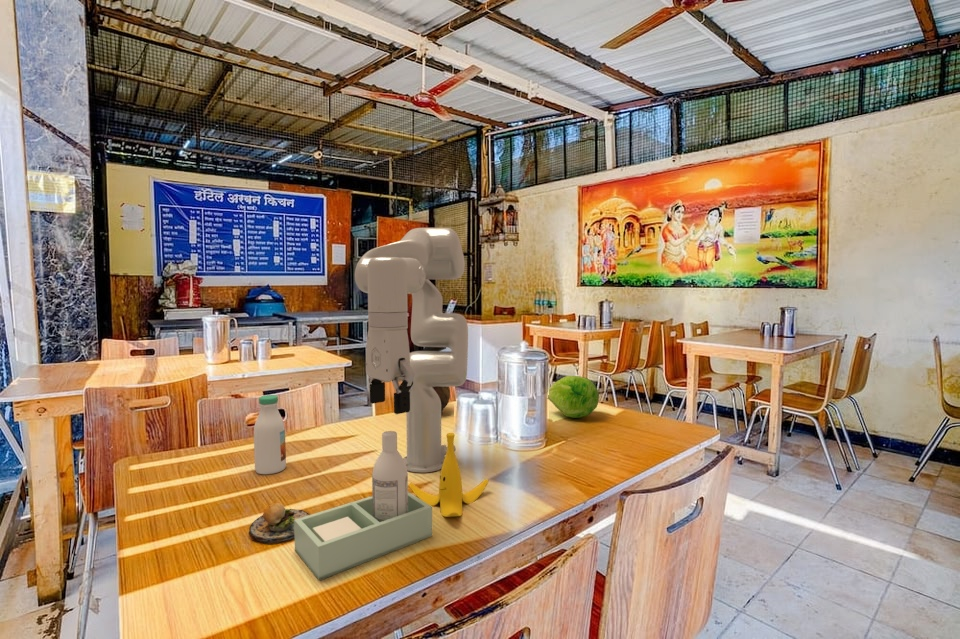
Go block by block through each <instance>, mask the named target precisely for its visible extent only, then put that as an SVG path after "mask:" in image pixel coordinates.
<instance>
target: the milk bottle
mask: <svg viewBox="0 0 960 639" xmlns="http://www.w3.org/2000/svg"><path fill="white" fill-rule="evenodd" d="M258 403H259V411H258V415H257V417H256V419H255V423H254V427H253V452H254V453H253V454H254V469H255V472H256V474H260V475H272V474H277V473H280V472H282V471H284V470H285V469H286V467H287V455H286V454H287V450H286V449H287V448H286V447H287V446H286V429H285V428H286V427H285V426H286V425H285V422H284V419H283V417H282V415H281V413H280V411H279V409H278V404H279V398H278V395H275V394H267V395H261V396H259V398H258Z"/></svg>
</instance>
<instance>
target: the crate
mask: <svg viewBox="0 0 960 639" xmlns="http://www.w3.org/2000/svg"><path fill="white" fill-rule="evenodd" d="M345 517H349V518H350V519H351V520H352V521H353V522H354V523H356V524H357V525H358V526H359V527H360V528H361V529H359V530H356V531H353V532H350V533H348V534H345V535H342V536H339V537H336V538H333V539H330V540H327V541H325V542H321V541H320V540H319V539H318V538H317V537H316V535H315V534H314V533H313V532H312V528H314V527H317V526H320V525H323V524H326V523H329V522H333V521H336V520H339V519H342V518H345ZM294 535H295V538H294V551H295V552H296V554H297V555H298V556H299V557H300V559H301V560H302V561H303V563H304V564H305V565H306V566H307V567H308V569H309V570H310V571H311V573H312V574H313V575H314V576H315V578H316V579H317V580H318V581H319V582H320V581H323V580H325V579H328V578H330V577H332V576H334V575H338V574H340V573H342V572H345V571H347V570H350V569H353V568H355V567H357V566H359V565H363V564H365V563H368V562H370V561H373V560H376V559H377V558H378V559H379V558H380V557H383V556H385V555H388V554H390V553H393V552H395V551H398V550H401V549H404V548H405V547H408V546H411V545H413V544H415V543H418V542H420V541H423V540H427V539H428V538H431V537H433V506H430V505H428V504H427V503H425V502H424V501H422V500H421V499H419V498H418V497H417V496H416V495H415V494H413V493H411V492H409V491H408V513H405V514H402V515H400V516H397V517H394V518H391V519H388V520H385V521H382V522H379V521H377V520H376V519H375V518H374V517H373V496H372V495H371V496H368V497H364V498H362V499H358V500H355V501H351V502H349V503H345V504H342V505H339V506H335V507H332V508H329V509H325V510H322V511H318V512H315V513H311V514H310V515H308V516H305V517H302V518H299V519H295V520H294Z"/></svg>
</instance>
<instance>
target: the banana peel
mask: <svg viewBox="0 0 960 639" xmlns="http://www.w3.org/2000/svg"><path fill="white" fill-rule="evenodd" d="M446 442H447V444H446V447H447V453H446V455H445V459H444V462H443V466H442V469H440V475H439V483H438V494H432V493H429V492H426V491H424V490H422V489H421V488H419V487H418V486H416V485H415V484H414V483H412V482H410V483H408V486H409V488H410V490H411V491H412V493H414V496H416V497H417V498H419V499H421V500H422V501H424V502H425V503H427V504H428V505H430V506H431V507H435V506H436V505H438V504H439V506H440V507H439V508H440V513H441V516H442V517H447V518H452V517H462V516H463V514H464V513H463V512H464V510H463V503H465V504H468V505H470V504H472V503H475V501H477V500H478V498H479V497H480V496H481V495H482V494H483V492H484V490H485V489H486V487H487V485H488V483H489V479H487V478H485V479H484V480H482V481H481V483H479V484H478V485H477V486H475V487H474V488H472V489H471V490H469V491H467V492H465V493H463V483H462V475H461V471H460V466H459V462H458V459H457V456H456V455H455V454H456V453H455V452H454V446H455V445H454V444H455V443H454V442H455V432H448V433H446Z"/></svg>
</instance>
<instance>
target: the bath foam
mask: <svg viewBox="0 0 960 639" xmlns="http://www.w3.org/2000/svg"><path fill="white" fill-rule="evenodd" d="M381 440H382V441H381V443H382V444H381V446H382V447H381V448H382V449H381V452H380V454H379V455H378V457H377V459H376V460H375V463H374V464H373V468H372V474H371V476H372V477H371V478H372V479H371V480H372V481H371V482H372V486H371V488H372V493H371V494H372V495H371V496H373V517H374V518H375V519H376V520H377V521H379V522H382V521H385V520H388V519H391V518H394V517H397V516H400V515H402V514H405V513H408V492H409V490H408V489H409V488H408V486H409V483H408V482H409V480H408V476H409V474H408V473H409V472H408V470H407V467H406V463H405V461H404V459H403V458H404V457H402V455H401V453H400V452H399V451H398V432H397V431H394V430H386V431H384V432H382V434H381Z"/></svg>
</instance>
